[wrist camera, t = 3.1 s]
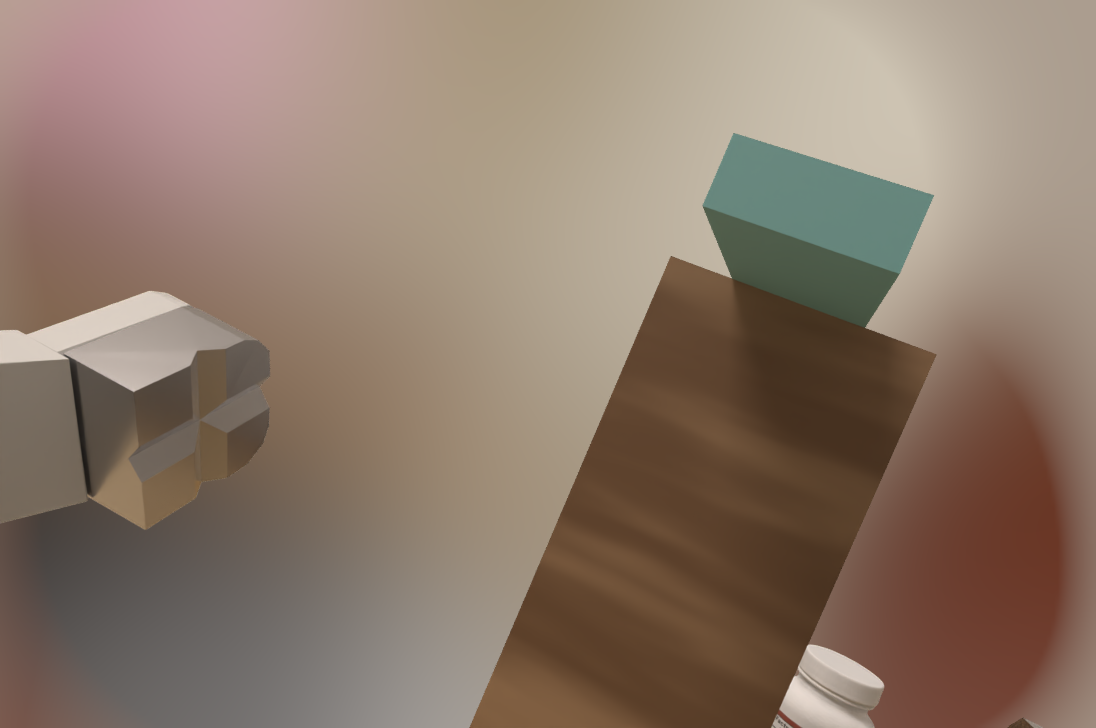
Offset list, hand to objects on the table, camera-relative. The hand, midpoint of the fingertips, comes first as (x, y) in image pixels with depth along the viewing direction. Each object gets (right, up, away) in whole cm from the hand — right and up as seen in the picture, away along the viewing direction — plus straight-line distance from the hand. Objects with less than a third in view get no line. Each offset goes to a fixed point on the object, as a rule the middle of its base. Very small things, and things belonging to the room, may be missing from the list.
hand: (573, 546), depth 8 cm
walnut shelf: (-1, -21, +22) cm, 30 cm away
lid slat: (+8, +3, +17) cm, 19 cm away
